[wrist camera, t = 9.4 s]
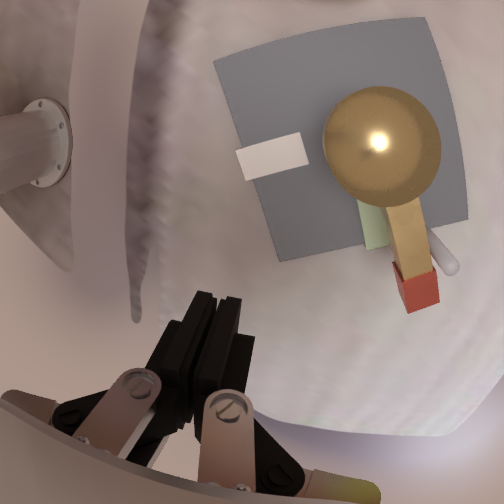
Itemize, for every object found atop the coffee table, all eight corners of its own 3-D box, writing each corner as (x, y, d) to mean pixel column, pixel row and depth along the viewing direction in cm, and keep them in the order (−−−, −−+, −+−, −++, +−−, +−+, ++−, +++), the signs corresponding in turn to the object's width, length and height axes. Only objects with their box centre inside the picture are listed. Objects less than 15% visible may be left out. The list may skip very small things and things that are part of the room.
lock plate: (275, 264, 34) (260, 334, 24) (209, 65, 26) (154, 43, 16) (464, 222, 28) (520, 273, 17) (421, 19, 20) (473, -18, 9)
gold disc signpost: (305, 110, 19) (305, 108, 16) (401, 78, 17) (418, 73, 14) (372, 298, 25) (379, 324, 22) (450, 271, 22) (466, 293, 19)
